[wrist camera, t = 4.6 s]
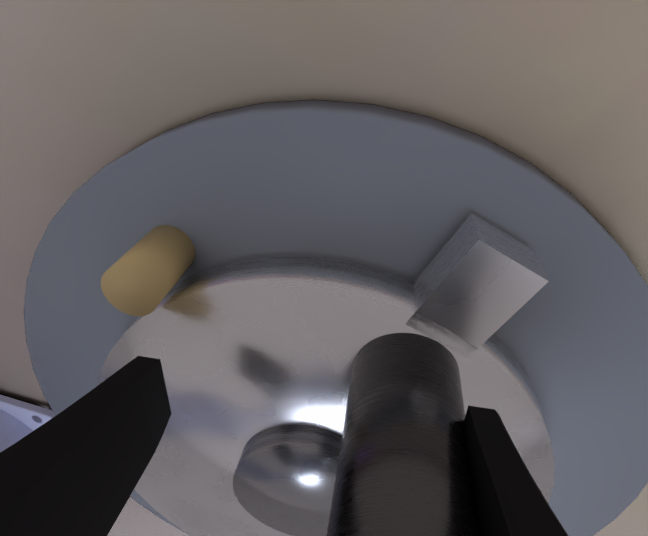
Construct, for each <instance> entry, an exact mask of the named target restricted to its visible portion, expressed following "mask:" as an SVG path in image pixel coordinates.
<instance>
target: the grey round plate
mask: <svg viewBox="0 0 648 536" xmlns="http://www.w3.org/2000/svg"><path fill="white" fill-rule="evenodd" d="M471 213H472V214H474V215H476V216H477V217H479V218H481V219H482V220H484V221H486V222H487V223H489V224H491V225H492V226H494V227H496V228H497V229H499V230H501V231H502V232H504V233H506V234H507V235H509V236H511V237H512V238H514V239H516V240H517V241H519V242H521V243H522V244H524V245H526V246H527V247H529V248H531V249H532V250H534V252H535V254H536V256H537V258H538V260H539V262H540V264H541V266H542V268H543V270H544V272H545V274H546V276H547V278H548V281H549V282H548V283H547V284H546V285H545V286H543V287H542V288H541V289H540V290H539V291H538V292H537V293H536V294H535V295H534V296H533V297H532V298H531V299H530V300H529V301H528V302H526V303H525V304H524V305H523V306H522V307H521V308H520V309H519V310H518V311H517V312H516V313H515V314H514V315H513V316H512V317H511V318H510V319H508V320H507V321H506V322H505V323H504V324H503V325H502V326H501V327H500V328H499V329H498V330H497V331H496V332H495V333H494V334H495V335H496V336H497V337H498V338H499V339H500V340H501V341H502V342H503V344H504V345H505V346H506V347H507V348H508V349H509V351H510V352H511V353H512V354H513V355H514V356H515V357H516V359H517V361H518V362H519V364H520V365H521V367H522V369H523V370H524V372H525V373H526V375H527V377H528V378H529V380H530V382H531V385H532V387H533V390H534V392H535V395H536V397H537V400H538V402H539V406H540V409H541V412H542V415H543V418H544V421H545V425H546V428H547V431H548V434H549V437H550V441H551V446H552V451H553V457H554V462H555V470H554V486H553V490H552V493H551V497H550V501H549V506H550V507H551V509H552V511H553V512H554V514H555V515H556V517H557V519H558V520H559V522H560V523H561V525H562V527H563V528H564V530H565V531H566V533H567V534H568V536H593V535H594V534H596V533H597V532H598V531H600V530H601V529H602V528H604V527H605V526H606V525H608V524H609V523H610V522H612V521H613V520H614V519H616V518H617V517H618V516H619V515H620V514H621V513H622V512H623V511H624V510H625V509H626V508H627V507H628V506H629V505H630V504H631V503H632V502H633V501H634V500H635V499H636V498H637V496H638V495H639V494H640V492H641V491H642V489H643V488H644V487H645V485H646V484H647V482H648V286H647V284H646V283H645V281H644V280H643V278H642V277H641V275H640V274H639V272H638V271H637V269H636V268H635V266H634V265H633V263H632V262H631V260H630V259H629V257H628V256H627V254H626V253H625V252H624V251H623V250H622V248H621V247H620V246H619V245H618V244H617V242H616V241H615V240H614V239H613V238H612V236H611V235H610V234H609V233H608V232H607V230H606V229H605V228H604V227H603V226H602V225H601V224H600V223H599V222H598V221H597V220H596V219H595V218H594V217H593V216H592V215H591V214H590V213H589V212H588V210H587V209H586V208H585V207H584V206H583V205H582V204H581V203H580V202H579V201H578V200H577V199H576V198H575V197H574V196H573V195H572V194H571V193H570V192H568V191H567V190H566V189H564V188H563V187H562V186H560V185H559V184H558V183H556V182H555V181H554V180H552V179H551V178H550V177H548V176H547V175H546V174H544V173H543V172H542V171H540V170H539V169H538V168H536V167H535V166H534V165H532V164H531V163H530V162H528V161H526V160H524V159H522V158H520V157H518V156H517V155H515V154H513V153H511V152H509V151H507V150H506V149H504V148H502V147H500V146H498V145H496V144H494V143H493V142H491V141H489V140H487V139H485V138H483V137H481V136H479V135H476V134H473V133H471V132H468V131H465V130H463V129H460V128H457V127H455V126H452V125H449V124H446V123H444V122H441V121H438V120H436V119H433V118H430V117H427V116H423V115H418V114H414V113H409V112H405V111H400V110H395V109H391V108H386V107H382V106H377V105H373V104H362V103H349V102H337V101H324V100H305V101H288V102H272V103H260V104H255V105H250V106H246V107H241V108H236V109H231V110H226V111H222V112H217V113H212V114H210V115H207V116H204V117H202V118H199V119H196V120H194V121H191V122H188V123H186V124H183V125H180V126H178V127H175V128H172V129H170V130H168V131H166V132H164V133H162V134H160V135H159V136H157V137H155V138H153V139H152V140H150V141H148V142H146V143H144V144H143V145H141V146H139V147H138V148H136V149H134V150H132V151H131V152H129V153H127V154H125V155H124V156H122V157H120V158H118V159H117V160H115V161H113V162H112V163H110V164H108V165H106V166H105V167H104V168H102V169H101V170H100V171H99V172H98V173H96V174H95V175H94V176H93V177H92V178H91V179H89V180H88V181H87V182H86V183H85V184H83V185H82V186H81V187H80V188H79V189H78V190H76V191H75V192H74V193H73V194H72V196H71V197H70V198H69V199H68V201H67V202H66V203H65V204H64V206H63V207H62V208H61V209H60V211H59V212H58V213H57V214H56V216H55V217H54V218H53V219H52V221H51V222H50V224H49V226H48V228H47V230H46V232H45V234H44V236H43V237H42V239H41V241H40V243H39V245H38V247H37V249H36V251H35V254H34V258H33V261H32V265H31V268H30V272H29V275H28V279H27V282H26V294H25V305H24V319H25V331H26V342H27V346H28V350H29V353H30V357H31V361H32V365H33V369H34V372H35V374H36V377H37V379H38V381H39V384H40V386H41V389H42V391H43V394H44V396H45V398H46V400H47V401H48V403H49V405H50V407H51V408H52V410H53V412H54V414H55V415H58V414H59V413H61V412H62V411H63V410H65V409H66V408H68V407H69V406H70V405H72V404H73V403H75V402H76V401H77V400H79V399H80V398H81V397H83V396H84V395H86V394H87V393H88V392H90V391H91V390H92V389H94V388H95V387H97V383H98V379H99V375H100V371H101V368H102V366H103V364H104V362H105V360H106V358H107V356H108V354H109V352H110V351H111V350H112V348H113V347H114V346H115V344H116V343H117V342H118V341H119V339H120V338H121V337H122V335H123V334H124V333H125V332H126V331H127V329H128V328H129V327H130V326H131V325H132V324H133V322H134V321H135V320H136V319H137V318H138V316H145V315H148V314H150V313H152V312H153V311H154V310H155V308H156V307H157V306H158V305H159V303H160V302H161V301H162V300H163V299H164V297H165V296H166V295H167V294H168V292H169V291H170V290H171V289H172V287H173V286H174V285H176V284H177V283H179V282H181V281H182V280H184V279H186V278H188V277H190V276H193V275H195V274H198V273H200V272H202V271H205V270H207V269H210V268H213V267H217V266H221V265H224V264H228V263H232V262H236V261H240V260H248V259H256V258H265V257H273V256H278V257H316V258H324V259H333V260H341V261H346V262H351V263H355V264H359V265H364V266H368V267H372V268H376V269H380V270H383V271H386V272H388V273H391V274H394V275H397V276H400V277H403V278H405V279H408V280H411V281H415V280H416V279H417V278H418V277H419V275H420V274H421V273H422V272H423V271H424V269H425V268H426V267H427V266H428V265H429V263H430V262H431V261H432V260H433V259H434V257H435V256H436V255H437V254H438V252H439V251H440V250H441V249H442V248H443V246H444V245H445V244H446V243H447V242H448V240H449V239H450V238H451V237H452V236H453V234H454V233H455V232H456V231H457V230H458V228H459V227H460V226H461V225H462V224H463V222H464V221H465V220H466V219H467V218H468V216H469V215H470V214H471ZM130 497H131V498H132V499H134V500H135V501H136V502H137V503H139V504H140V505H142V506H143V507H145V508H146V509H148V510H149V511H151V512H152V513H154V514H155V515H157V516H158V517H159V518H161V519H163V520H164V521H166V522H168V523H169V524H171V525H173V526H175V527H176V528H178V529H180V528H179V527H177V526H176V525H174V524H173V523H171V522H170V521H169V520H167V519H166V518H165V517H164V516H162V515H161V514H160V513H159V512H157V511H156V510H155V509H154V508H153V507H152V506H151V505H149V504H148V503H147V502H146V501H145V500H144V499H143V498H142V497H141V496H140V495H139V494H138V493H137V492H136V491H135V489H134V490H133V492H132V493H131V495H130ZM180 530H182V529H180ZM182 531H183V530H182ZM183 532H185V531H183ZM185 533H186V532H185ZM187 534H188V533H187Z"/></svg>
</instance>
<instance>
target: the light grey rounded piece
mask: <svg viewBox="0 0 648 536" xmlns="http://www.w3.org/2000/svg"><path fill="white" fill-rule="evenodd" d="M548 282H549V281H548V278H547V276H546V274H545V272H544V270H543V268H542V266H541V264H540V262H539V260H538V258H537V256H536V254H535V252H534V250H532V249H531V248H529V247H527V246H526V245H524V244H522V243H521V242H519V241H517V240H516V239H514V238H512V237H511V236H509V235H507V234H506V233H504V232H502V231H501V230H499V229H497V228H496V227H494V226H492V225H491V224H489V223H487V222H486V221H484V220H482V219H481V218H479V217H477V216H476V215H474V214H472V213H471V214H470V215H469V216H468V218H467V219H466V220H465V221H464V222H463V224H462V225H461V226H460V227H459V228H458V230H457V231H456V232H455V233H454V234H453V236H452V237H451V238H450V239H449V240H448V242H447V243H446V244H445V245H444V246H443V248H442V249H441V250H440V251H439V252H438V254H437V255H436V256H435V257H434V259H433V260H432V261H431V262H430V263H429V265H428V266H427V267H426V268H425V269H424V271H423V272H422V273H421V274H420V275H419V277H418V278H417V279H416V280H415V281H411V280H408V279H405V278H403V277H400V276H397V275H394V274H391V273H388V272H386V271H383V270H380V269H376V268H372V267H368V266H364V265H359V264H355V263H351V262H346V261H341V260H333V259H324V258H316V257H278V256H273V257H265V258H256V259H248V260H240V261H236V262H232V263H228V264H224V265H221V266H217V267H213V268H210V269H207V270H205V271H202V272H200V273H198V274H195V275H193V276H190V277H188V278H186V279H184V280H182V281H181V282H179V283H177V284H176V285H174V286H173V287H172V289H171V290H170V291H169V292H168V294H167V295H166V296H165V297H164V299H163V300H162V301H161V302H160V303H159V305H158V306H157V307H156V308H155V310H154V311H153V312H152V313H150V314H148V315H145V316H138V318H137V319H136V320H135V321H134V322H133V324H132V325H131V326H130V327H129V328H128V329H127V331H126V332H125V333H124V334H123V335H122V337H121V338H120V339H119V341H118V342H117V343H116V344H115V346H114V347H113V348H112V350H111V351H110V352H109V354H108V356H107V358H106V360H105V362H104V364H103V366H102V368H101V371H100V375H99V379H98V383H97V386H98V385H99V384H101V383H102V382H103V381H105V380H106V379H107V378H109V377H110V376H111V375H113V374H114V373H115V372H117V371H118V370H119V369H121V368H122V367H123V366H125V365H126V364H127V363H129V362H130V361H132V360H133V359H134V358H136V357H137V356H143V357H149V358H156V359H160V360H161V365H162V370H163V375H164V380H165V384H166V389H167V394H168V399H169V404H170V409H171V413H172V414H171V416H170V419H169V421H168V424H167V426H166V428H165V431H164V433H163V436H162V438H161V440H160V442H159V445H158V447H157V449H156V451H155V453H154V455H153V457H152V459H151V460H150V462H149V464H148V466H147V467H146V469H145V471H144V473H143V474H142V476H141V478H140V480H139V481H138V483H137V485H136V487H135V488H134V489H135V491H136V492H137V493H138V494H139V495H140V496H141V497H142V498H143V499H144V500H145V501H146V502H147V503H148V504H149V505H151V506H152V507H153V508H154V509H155V510H156V511H157V512H159V513H160V514H161V515H162V516H164V517H165V518H166V519H167V520H169V521H170V522H171V523H173V524H174V525H176V526H177V527H179V528H180V529H182V530H183V531H185V532H186V533H188V534H189V535H191V536H481V534H480V526H479V520H478V513H477V507H476V500H475V493H474V487H473V480H472V474H471V469H470V463H469V457H468V449H467V441H466V433H465V425H464V419H465V415H466V412H467V408H468V406H475V407H482V408H488V409H495V410H496V411H497V412H498V414H499V416H500V418H501V420H502V422H503V424H504V426H505V428H506V430H507V432H508V433H509V435H510V437H511V439H512V441H513V443H514V445H515V447H516V449H517V451H518V452H519V454H520V456H521V458H522V460H523V461H524V463H525V465H526V467H527V469H528V470H529V472H530V474H531V476H532V477H533V479H534V481H535V482H536V484H537V486H538V487H539V489H540V491H541V492H542V494H543V496H544V497H545V499H546V501H547V502H548V504H549V501H550V497H551V493H552V490H553V486H554V470H555V462H554V457H553V451H552V446H551V441H550V437H549V434H548V431H547V428H546V425H545V421H544V418H543V415H542V412H541V409H540V406H539V402H538V400H537V397H536V395H535V392H534V390H533V387H532V385H531V382H530V380H529V378H528V377H527V375H526V373H525V372H524V370H523V369H522V367H521V365H520V364H519V362H518V361H517V359H516V357H515V356H514V355H513V354H512V353H511V352H510V351H509V349H508V348H507V347H506V346H505V345H504V344H503V342H502V341H501V340H500V339H499V338H498V337H497V336H496V335H495V334H494V333H495V332H496V331H497V330H498V329H499V328H500V327H501V326H502V325H503V324H504V323H505V322H506V321H507V320H508V319H510V318H511V317H512V316H513V315H514V314H515V313H516V312H517V311H518V310H519V309H520V308H521V307H522V306H523V305H524V304H525V303H526V302H528V301H529V300H530V299H531V298H532V297H533V296H534V295H535V294H536V293H537V292H538V291H539V290H540V289H541V288H542V287H543V286H545V285H546V284H547V283H548Z"/></svg>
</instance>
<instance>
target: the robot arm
mask: <svg viewBox="0 0 648 536" xmlns="http://www.w3.org/2000/svg"><path fill="white" fill-rule="evenodd" d="M171 414H172V413H171V409H170V404H169V399H168V394H167V389H166V384H165V380H164V375H163V370H162V365H161V360H160V359H156V358H149V357H143V356H137V357H136V358H134V359H133V360H132V361H130V362H129V363H127V364H126V365H125V366H123V367H122V368H121V369H119V370H118V371H117V372H115V373H114V374H113V375H111V376H110V377H109V378H107V379H106V380H105V381H103V382H102V383H101V384H99V385H98V386H97V387H95V388H94V389H92V390H91V391H90V392H88V393H87V394H86V395H84V396H83V397H81V398H80V399H79V400H77V401H76V402H75V403H73V404H72V405H70V406H69V407H68V408H66V409H65V410H63V411H62V412H61V413H59V414H58V415H55V414H54V412H53V410H50V409H47V408H43V407H40V406H37V405H33V404H30V403H27V402H23V401H20V400H17V399H13V398H10V397H7V396H4V395H0V536H107V535H108V533H109V531H110V530H111V528H112V526H113V524H114V523H115V521H116V519H117V517H118V516H119V514H120V512H121V511H122V509H123V507H124V505H125V504H126V502H127V500H128V499H129V497H130V495H131V493H132V492H133V490H134V488H135V487H136V485H137V483H138V481H139V480H140V478H141V476H142V474H143V473H144V471H145V469H146V467H147V466H148V464H149V462H150V460H151V459H152V457H153V455H154V453H155V451H156V449H157V447H158V445H159V442H160V440H161V438H162V436H163V433H164V431H165V428H166V426H167V424H168V421H169V419H170V416H171ZM464 425H465V433H466V441H467V449H468V457H469V463H470V469H471V474H472V480H473V487H474V493H475V500H476V507H477V513H478V520H479V526H480V534H481V536H568V534H567V533H566V531H565V530H564V528H563V527H562V525H561V523H560V522H559V520H558V519H557V517H556V515H555V514H554V512H553V511H552V509H551V507H550V506H549V504H548V502H547V501H546V499H545V497H544V496H543V494H542V492H541V491H540V489H539V487H538V486H537V484H536V482H535V481H534V479H533V477H532V476H531V474H530V472H529V470H528V469H527V467H526V465H525V463H524V461H523V460H522V458H521V456H520V454H519V452H518V451H517V449H516V447H515V445H514V443H513V441H512V439H511V437H510V435H509V433H508V432H507V430H506V428H505V426H504V424H503V422H502V420H501V418H500V416H499V414H498V412H497V411H496V410H495V409H488V408H482V407H475V406H468V408H467V412H466V415H465V419H464Z"/></svg>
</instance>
